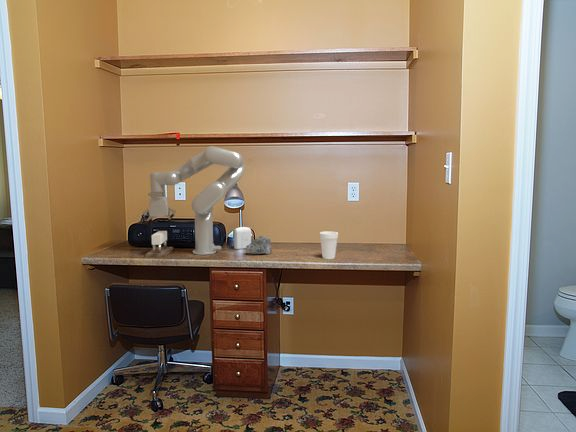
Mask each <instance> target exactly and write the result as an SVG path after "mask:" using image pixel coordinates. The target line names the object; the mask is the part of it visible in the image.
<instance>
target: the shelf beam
mask: <svg viewBox="0 0 576 432" xmlns="http://www.w3.org/2000/svg"><path fill="white" fill-rule="evenodd" d="M165 241H166V242H167V241H168V231H167V230H158V231H157V232H155V233H153V234H151V245H152V246H153V245H156V246H158V245H161V246H162V244H164V242H165Z"/></svg>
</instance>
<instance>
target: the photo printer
mask: <svg viewBox="0 0 576 432" xmlns="http://www.w3.org/2000/svg"><path fill="white" fill-rule="evenodd" d="M251 242H252V228H250V227H249V226H248V227H247V226H240V227H236V228H235V229H234V230H233V247H234V250H241V249H242V250H243V249H245V250H246V249H247V248H246V246H247V245H249V244H250V243H251Z"/></svg>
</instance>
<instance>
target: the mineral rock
mask: <svg viewBox="0 0 576 432" xmlns="http://www.w3.org/2000/svg"><path fill="white" fill-rule="evenodd" d="M245 252H246V253H247V254H250V255H251V254H252V255H261V254H265V255H270V254H272V246H271V238H270V236H264V235H259V236H258V237H256V239H254V240H251V243H250V244H249V245H247V246H246V248H245Z"/></svg>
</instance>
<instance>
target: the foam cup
mask: <svg viewBox="0 0 576 432" xmlns="http://www.w3.org/2000/svg"><path fill="white" fill-rule="evenodd" d="M338 238H339V232H338V231H331V230H330V231H328V230H327V231H326V230H325V231H320V232H319V239H320V247H321V255H322V259H326V260H333V259H335V258H336V253H337V246H338Z"/></svg>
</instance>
